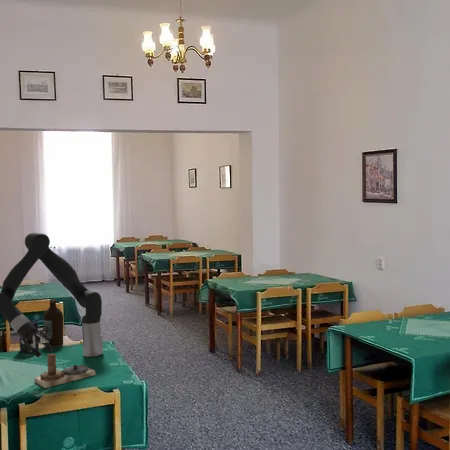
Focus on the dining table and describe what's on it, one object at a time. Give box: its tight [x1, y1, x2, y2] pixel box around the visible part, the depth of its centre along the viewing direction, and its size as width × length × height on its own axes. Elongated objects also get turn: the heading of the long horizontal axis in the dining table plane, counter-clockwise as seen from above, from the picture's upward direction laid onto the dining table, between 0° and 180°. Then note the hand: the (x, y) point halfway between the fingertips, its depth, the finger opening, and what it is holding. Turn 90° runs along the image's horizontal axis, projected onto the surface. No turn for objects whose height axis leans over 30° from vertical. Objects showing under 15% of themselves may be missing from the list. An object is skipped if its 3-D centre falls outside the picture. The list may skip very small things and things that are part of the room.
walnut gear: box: [39, 353, 64, 381], centre depth 245 cm, size 10×10×10 cm
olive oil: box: [42, 298, 64, 347], centre depth 308 cm, size 11×11×25 cm
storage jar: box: [19, 320, 40, 354], centre depth 297 cm, size 10×10×15 cm
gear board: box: [34, 364, 96, 389], centre depth 249 cm, size 24×11×5 cm, turn 132°
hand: (45, 353), depth 245 cm, fingers open, 8 cm apart
